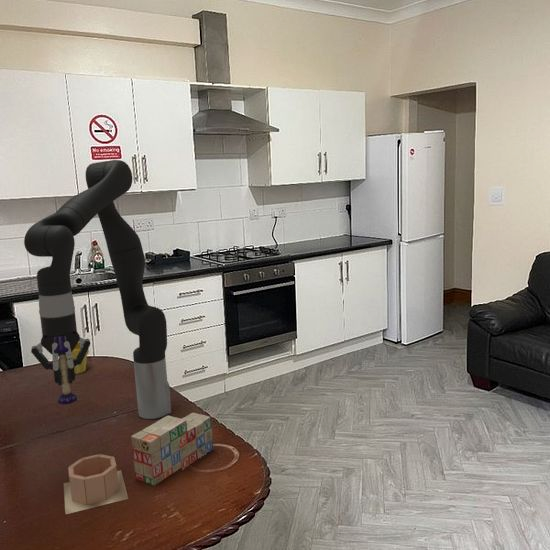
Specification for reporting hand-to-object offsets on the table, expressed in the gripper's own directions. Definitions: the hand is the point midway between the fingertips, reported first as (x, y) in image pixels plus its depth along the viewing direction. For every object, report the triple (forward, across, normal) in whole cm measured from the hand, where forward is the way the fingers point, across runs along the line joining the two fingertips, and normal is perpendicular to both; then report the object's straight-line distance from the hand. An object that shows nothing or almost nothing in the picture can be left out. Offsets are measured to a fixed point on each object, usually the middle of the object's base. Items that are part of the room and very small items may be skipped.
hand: (65, 382), depth 130 cm
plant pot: (+23, -2, -76) cm, 79 cm away
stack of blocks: (+24, -23, +7) cm, 34 cm away
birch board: (+23, -4, +12) cm, 27 cm away
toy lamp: (+5, 0, 0) cm, 5 cm away
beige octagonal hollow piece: (+22, -4, +12) cm, 25 cm away
